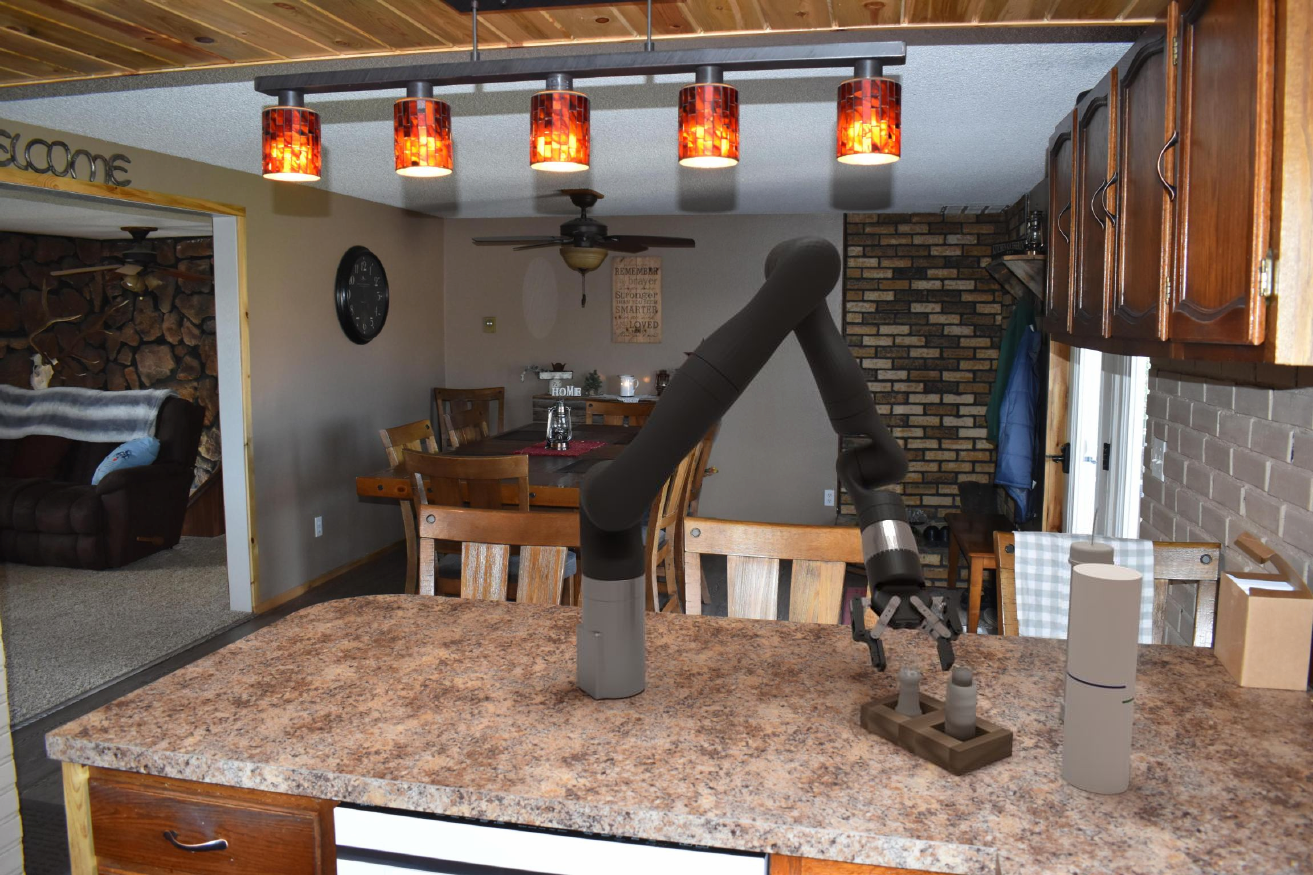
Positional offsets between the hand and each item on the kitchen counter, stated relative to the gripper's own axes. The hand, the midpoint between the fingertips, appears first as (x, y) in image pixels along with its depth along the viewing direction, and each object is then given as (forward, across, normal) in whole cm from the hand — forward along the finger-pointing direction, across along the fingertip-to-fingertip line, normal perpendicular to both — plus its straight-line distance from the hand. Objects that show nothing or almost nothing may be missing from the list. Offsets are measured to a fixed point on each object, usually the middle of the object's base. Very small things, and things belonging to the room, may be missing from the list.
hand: (915, 669), depth 119 cm
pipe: (+5, +24, +8) cm, 25 cm away
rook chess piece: (+5, 0, +7) cm, 9 cm away
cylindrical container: (+15, +17, -3) cm, 23 cm away
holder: (+8, +2, +5) cm, 9 cm away
